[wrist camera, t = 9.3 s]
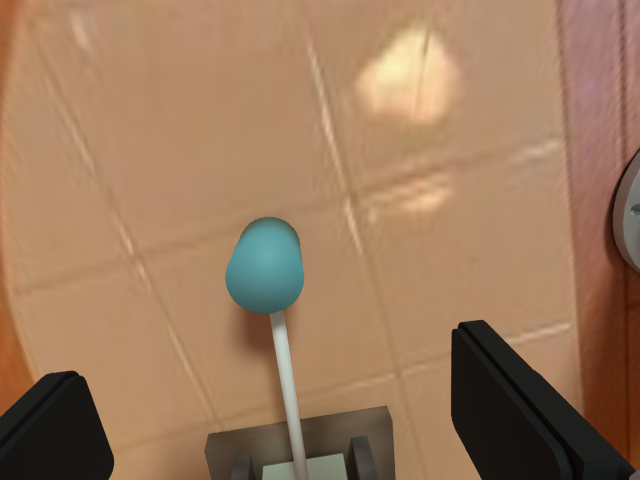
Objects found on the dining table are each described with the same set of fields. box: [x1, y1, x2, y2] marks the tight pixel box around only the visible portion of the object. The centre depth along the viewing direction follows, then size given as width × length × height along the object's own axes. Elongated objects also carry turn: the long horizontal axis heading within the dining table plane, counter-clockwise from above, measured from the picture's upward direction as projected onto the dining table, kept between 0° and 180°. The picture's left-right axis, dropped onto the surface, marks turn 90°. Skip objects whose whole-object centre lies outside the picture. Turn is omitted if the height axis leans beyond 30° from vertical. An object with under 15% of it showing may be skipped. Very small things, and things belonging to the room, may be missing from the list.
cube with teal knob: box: [226, 217, 347, 480], centre depth 22 cm, size 6×25×5 cm, turn 6°
